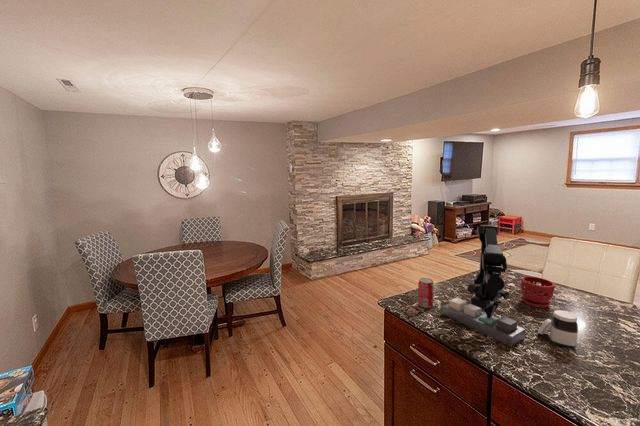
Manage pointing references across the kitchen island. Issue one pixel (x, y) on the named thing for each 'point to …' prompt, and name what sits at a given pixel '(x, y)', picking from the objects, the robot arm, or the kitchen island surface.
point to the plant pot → (536, 291)
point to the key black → (507, 324)
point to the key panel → (484, 326)
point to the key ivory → (457, 304)
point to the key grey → (472, 310)
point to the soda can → (425, 292)
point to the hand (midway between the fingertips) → (488, 317)
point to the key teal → (488, 319)
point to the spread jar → (562, 329)
